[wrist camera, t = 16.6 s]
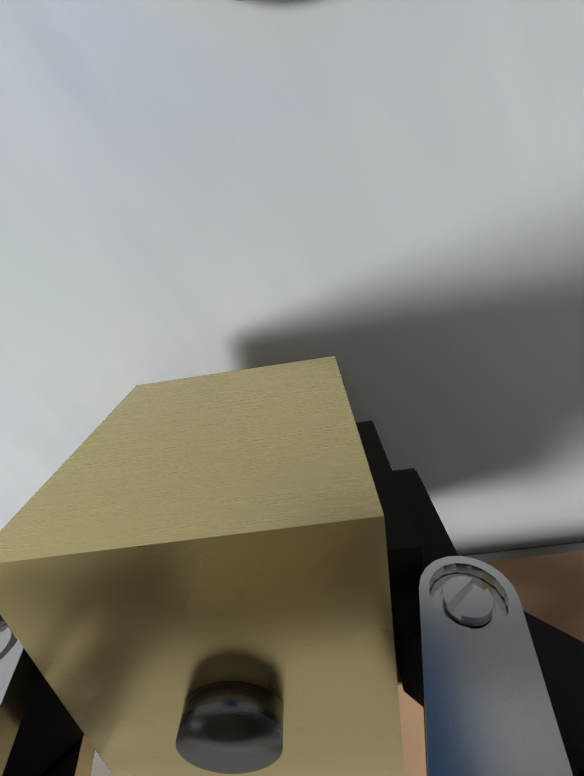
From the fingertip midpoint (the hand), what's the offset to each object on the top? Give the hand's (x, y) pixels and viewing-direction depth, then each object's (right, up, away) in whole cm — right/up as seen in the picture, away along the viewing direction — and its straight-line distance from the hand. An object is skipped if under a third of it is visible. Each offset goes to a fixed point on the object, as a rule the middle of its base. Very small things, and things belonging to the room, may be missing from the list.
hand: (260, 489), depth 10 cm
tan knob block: (0, 0, 0) cm, 0 cm away
